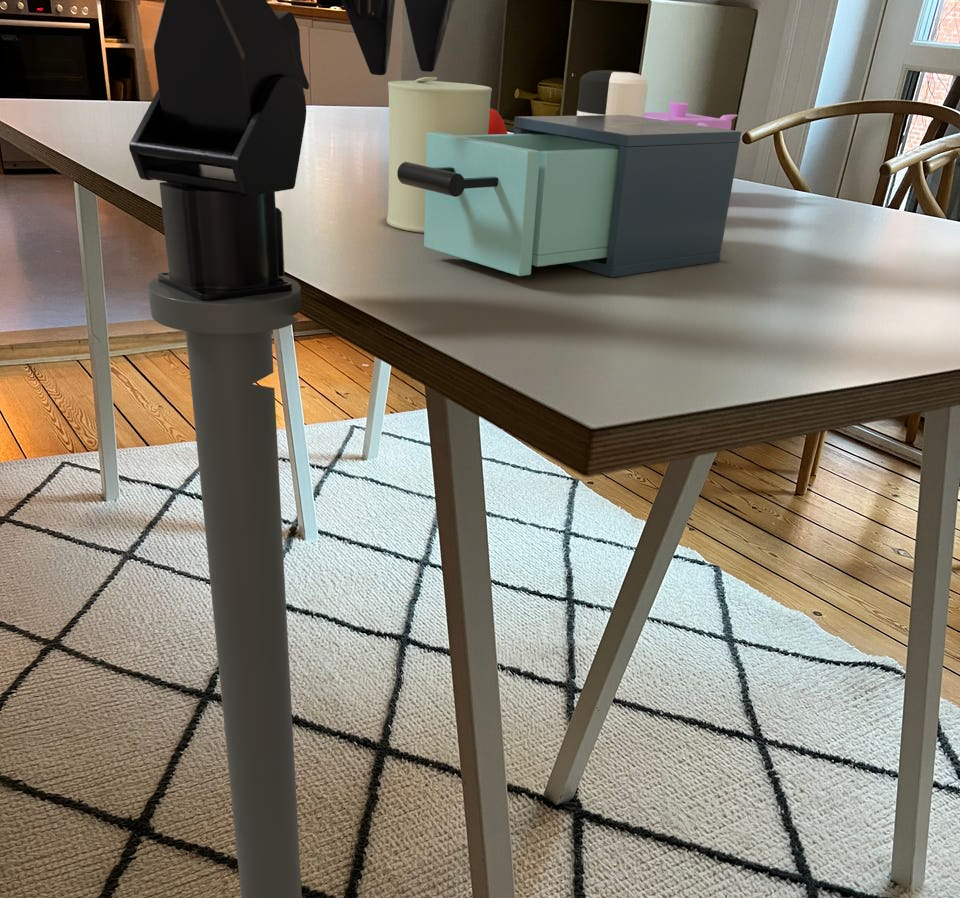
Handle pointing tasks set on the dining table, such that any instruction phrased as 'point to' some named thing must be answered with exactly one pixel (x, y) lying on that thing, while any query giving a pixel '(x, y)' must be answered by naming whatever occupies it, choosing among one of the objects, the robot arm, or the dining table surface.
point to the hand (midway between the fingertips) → (404, 73)
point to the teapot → (691, 117)
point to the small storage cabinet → (657, 188)
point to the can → (409, 122)
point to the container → (612, 93)
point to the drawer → (516, 198)
